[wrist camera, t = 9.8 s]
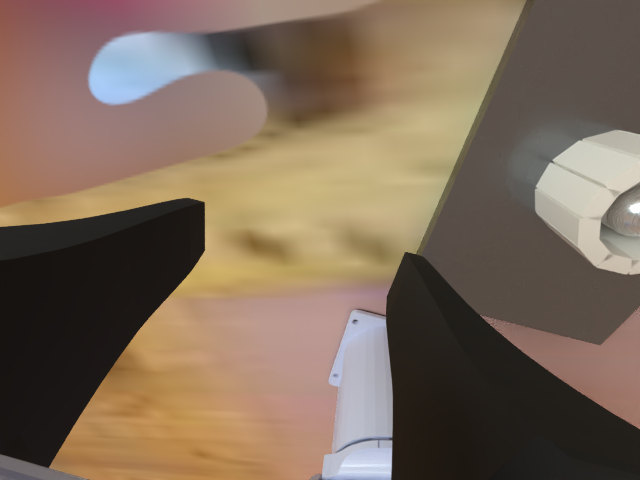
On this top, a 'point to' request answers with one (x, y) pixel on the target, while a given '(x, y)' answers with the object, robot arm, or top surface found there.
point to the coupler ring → (592, 198)
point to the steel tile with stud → (529, 165)
